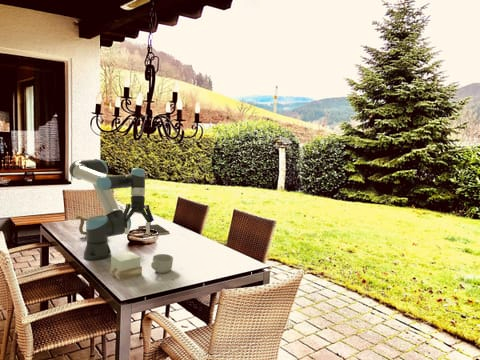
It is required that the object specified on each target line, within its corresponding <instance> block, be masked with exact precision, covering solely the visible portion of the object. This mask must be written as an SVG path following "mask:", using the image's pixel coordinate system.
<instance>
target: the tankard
mask: <svg viewBox="0 0 480 360" xmlns="http://www.w3.org/2000/svg"><path fill="white" fill-rule="evenodd" d="M91 217H94V216H89V217H86V218H85V217H83V216H81V215H77V216H75V219H76V220H80V221H79V222H80V223H79V227H78V231H79V233H80V235H83V236H84V238H85V239H86V238H87V228H86V229H85V231H84V230H83V228H84V225H85V224H86V225H87V220H88V219H89V218H91ZM86 225H85V226H86Z"/></svg>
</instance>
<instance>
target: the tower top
mask: <svg viewBox="0 0 480 360" xmlns="http://www.w3.org/2000/svg"><path fill="white" fill-rule="evenodd" d="M141 258H142V257H141V256H139V255H137V254H135V253H133V252H132V251H128V252H122V253H118V254H111V256H110V261H111V262H110V265H112V266H114V267H115V268H117V269H118V270H120V271H123V270H127V269H132V268H136V267H140V266H141Z"/></svg>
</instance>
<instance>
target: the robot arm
mask: <svg viewBox="0 0 480 360" xmlns="http://www.w3.org/2000/svg"><path fill="white" fill-rule="evenodd" d="M68 170H69V175H70V176H71V177H72V178H73V179H77V180H79V181H86V182H88V183H90V184H92V185H93V187H94V190H95V192H96V195H97V197H98V200H99V202H100V205H101V207H102V209H103V212H104V214H105V215H103V214H100V215H95V216H94V217H93V216H90V217H91V218H89V217H88V218H89V219H88V220H87V221H86V222H87V225H85V227H86V229H87V239H86V246H85V248H84V251H83V258H84V259H85V260H88V259H89V260H90V261H100V260H106V259H108V258H111V256H112V250H111V248H110V245H109V238H110V237H115V236H120V235H123V234H124V235H129V233H130V229H131V226H132V219H131V217H132V216H133V215H134V213H136V214H137V213H140V214H141V215H142V216H143V218H144V219H145V221H146V222H145V226H146V234H150V228H151V225H152V224H151V223H152V222H154V221H155V219H154V217H153V214H152V211H151V209H150V205H149V204H145V203H146V197H145V193H146V171H145V169H143V168H136V167H135V168H131V172H130V173H129V174H119V175H118V174H117V175H108V174H109V167H108V165H107V162H106V161H104V160H103V159H97V158H95V159H78V160H75V161H73V162H72V163H71V165H69V169H68ZM129 188H130V195H131V196H130V203H126V204H125V209H124V211H123V209H120V208H119V206H118V203H117V201H116V198H115V197H114V195H113V191H112V190H115V189H116V190H117V189H129ZM146 234H145V235H146ZM89 260H88V261H89Z"/></svg>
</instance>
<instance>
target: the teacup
mask: <svg viewBox="0 0 480 360" xmlns="http://www.w3.org/2000/svg"><path fill="white" fill-rule="evenodd" d="M173 261H174V256H172V255H170V254H167V253H166V254H165V253H158V254H154V255H153V256H152V262H151V263H150V264H151V269H152V270H154V271H155V272H156V273H159V274H166V273H168V272H170V271H171V270H172V269H173V268H172V267H173Z"/></svg>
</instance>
